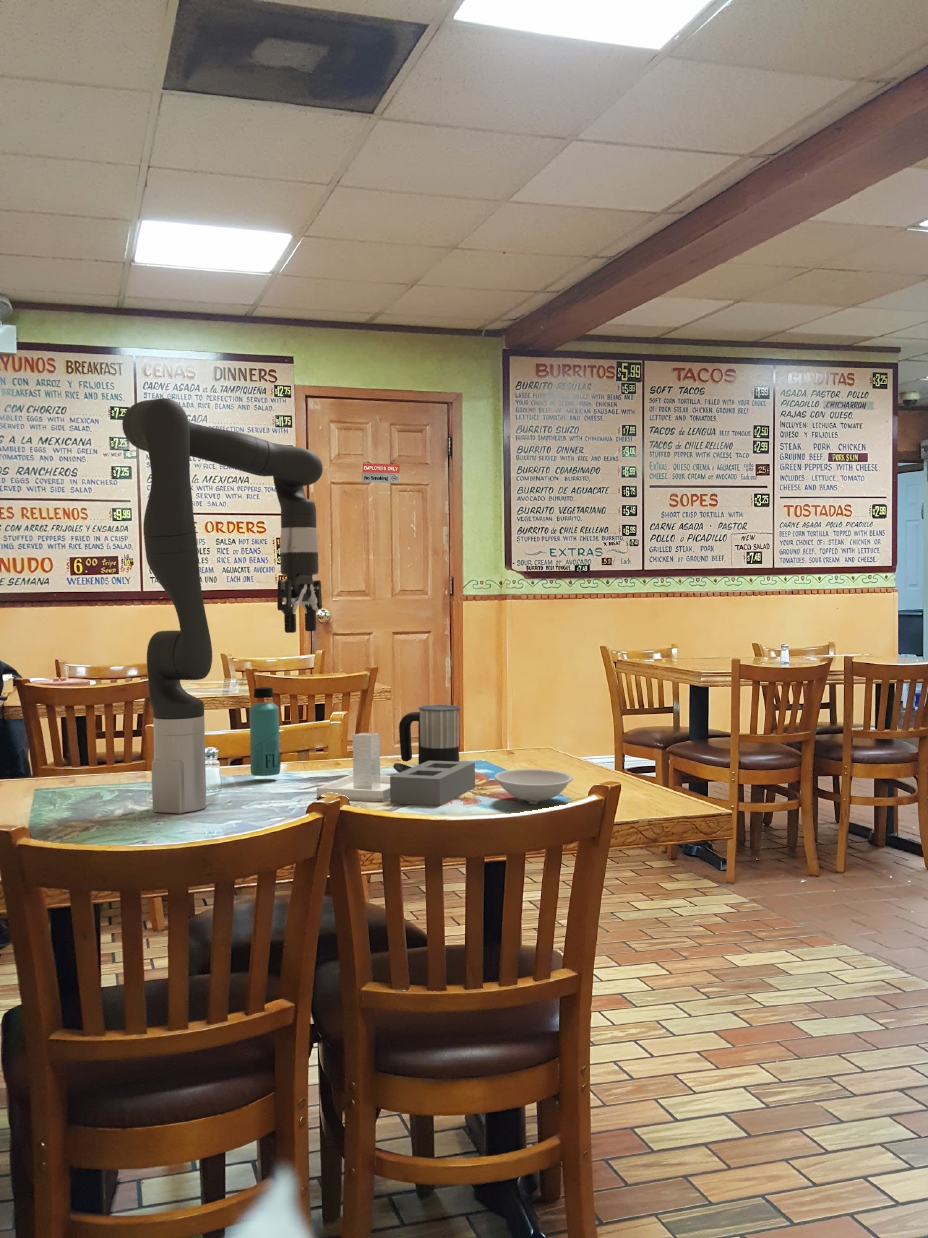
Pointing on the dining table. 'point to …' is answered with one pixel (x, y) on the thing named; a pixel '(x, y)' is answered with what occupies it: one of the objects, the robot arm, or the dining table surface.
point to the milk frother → (431, 735)
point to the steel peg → (366, 761)
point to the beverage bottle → (264, 735)
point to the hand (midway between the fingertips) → (300, 631)
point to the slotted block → (432, 783)
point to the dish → (533, 783)
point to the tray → (347, 788)
